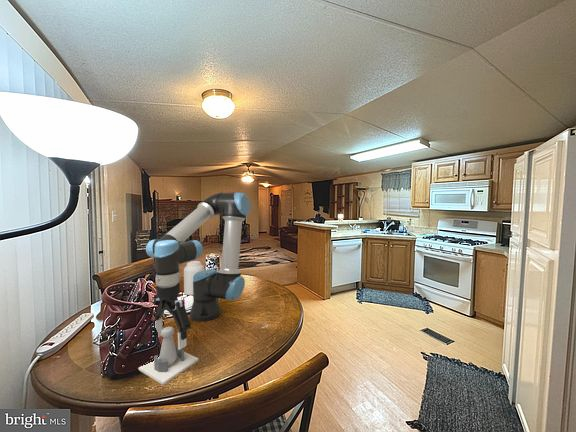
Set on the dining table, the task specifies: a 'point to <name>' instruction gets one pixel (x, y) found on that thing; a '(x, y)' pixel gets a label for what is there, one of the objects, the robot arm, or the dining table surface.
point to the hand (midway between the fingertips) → (170, 341)
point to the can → (191, 275)
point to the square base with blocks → (163, 372)
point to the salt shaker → (168, 346)
